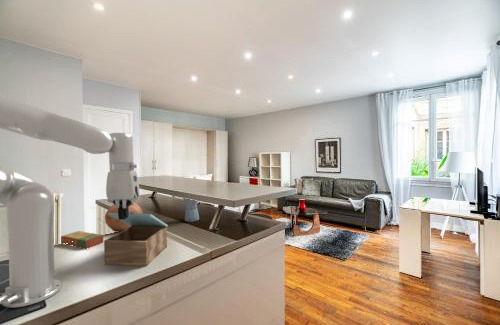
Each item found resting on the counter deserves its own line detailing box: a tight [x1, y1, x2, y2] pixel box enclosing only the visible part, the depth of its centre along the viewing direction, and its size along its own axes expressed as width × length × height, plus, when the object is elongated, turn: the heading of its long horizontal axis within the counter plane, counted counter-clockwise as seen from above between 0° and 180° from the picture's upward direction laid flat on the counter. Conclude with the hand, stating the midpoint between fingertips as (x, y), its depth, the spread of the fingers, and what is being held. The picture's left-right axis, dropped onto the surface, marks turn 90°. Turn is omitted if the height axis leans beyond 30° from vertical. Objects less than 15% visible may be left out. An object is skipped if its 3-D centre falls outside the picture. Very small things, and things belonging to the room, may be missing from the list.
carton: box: [60, 230, 104, 250], centre depth 106 cm, size 8×16×4 cm, turn 71°
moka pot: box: [182, 197, 201, 223], centre depth 146 cm, size 10×15×20 cm, turn 145°
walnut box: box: [103, 226, 168, 267], centre depth 94 cm, size 18×16×9 cm
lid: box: [108, 212, 169, 228], centre depth 96 cm, size 18×17×2 cm
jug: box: [104, 199, 143, 233], centre depth 128 cm, size 18×18×20 cm
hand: (123, 218), depth 84 cm, fingers closed
